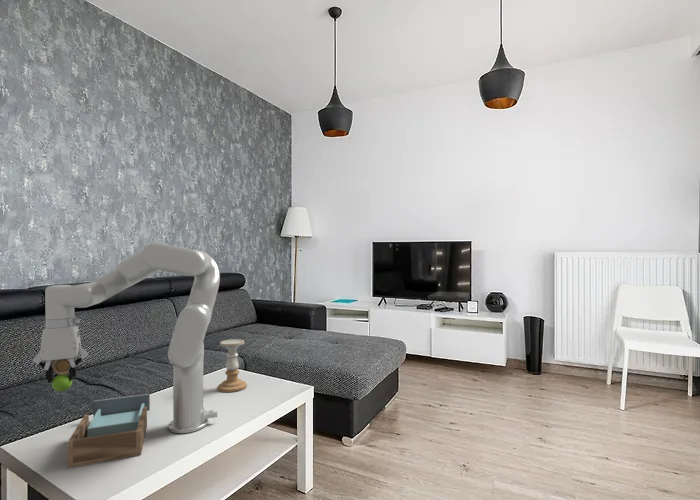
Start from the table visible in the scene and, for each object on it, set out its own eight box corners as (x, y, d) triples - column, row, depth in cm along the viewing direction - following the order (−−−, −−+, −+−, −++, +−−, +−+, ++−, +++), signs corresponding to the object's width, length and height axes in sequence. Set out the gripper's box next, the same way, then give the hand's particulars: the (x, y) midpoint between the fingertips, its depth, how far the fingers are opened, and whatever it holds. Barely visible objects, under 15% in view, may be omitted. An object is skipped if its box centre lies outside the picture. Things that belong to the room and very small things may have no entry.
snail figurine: (57, 388, 131) (57, 351, 131) (76, 388, 131) (76, 351, 131) (44, 394, 126) (43, 355, 126) (64, 393, 125) (63, 355, 125)
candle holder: (238, 381, 184) (238, 337, 184) (252, 388, 175) (251, 341, 175) (212, 387, 176) (212, 341, 176) (225, 394, 167) (225, 346, 167)
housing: (84, 436, 129) (84, 415, 129) (147, 427, 136) (147, 406, 136) (67, 467, 110) (67, 442, 110) (140, 454, 117) (140, 430, 117)
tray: (94, 416, 142) (94, 400, 142) (149, 409, 148) (149, 393, 148) (81, 440, 124) (81, 421, 124) (144, 430, 131) (144, 412, 131)
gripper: (94, 319, 135) (95, 373, 135) (31, 324, 129) (33, 380, 129) (89, 323, 128) (90, 380, 128) (23, 328, 122) (24, 388, 122)
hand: (61, 379), depth 128 cm, fingers closed on snail figurine, 5 cm apart
